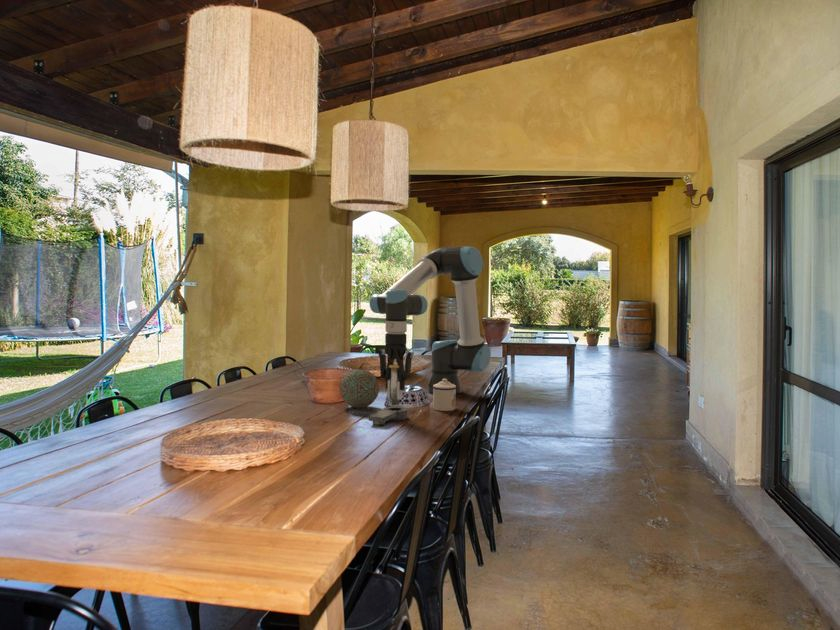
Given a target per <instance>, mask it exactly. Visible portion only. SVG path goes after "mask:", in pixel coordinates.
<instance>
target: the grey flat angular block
mask: <svg viewBox="0 0 840 630" xmlns="http://www.w3.org/2000/svg"><path fill="white" fill-rule="evenodd" d="M351 412H352V413H351V414H352V416H359V417H360V416H361V417H368V421H369V422H372V426H373V427H384V426H385V422H388V421H390V422H391V421H393V422H396V421H406V420H408V409H407V407H404V406H385V407H383V408H382V409H376V408H367V407H364V408H361V407H360V408H355V409H352V411H351Z"/></svg>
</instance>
